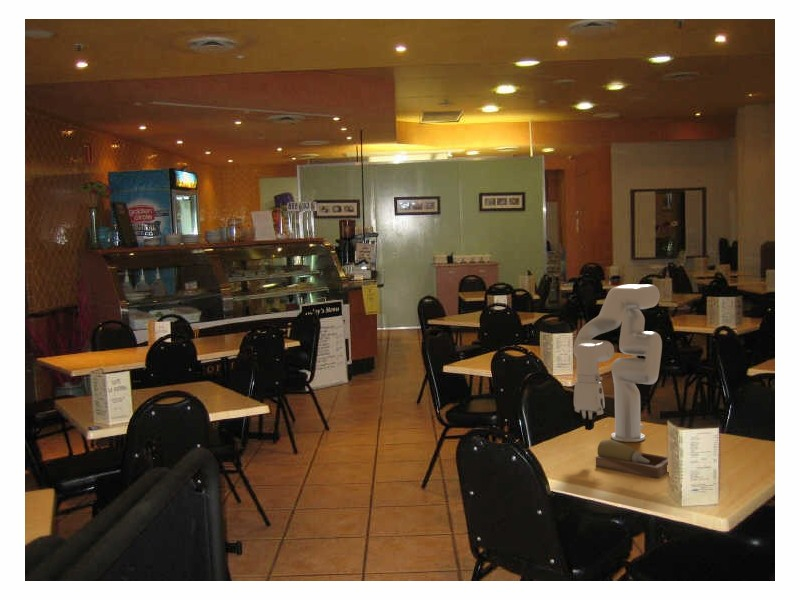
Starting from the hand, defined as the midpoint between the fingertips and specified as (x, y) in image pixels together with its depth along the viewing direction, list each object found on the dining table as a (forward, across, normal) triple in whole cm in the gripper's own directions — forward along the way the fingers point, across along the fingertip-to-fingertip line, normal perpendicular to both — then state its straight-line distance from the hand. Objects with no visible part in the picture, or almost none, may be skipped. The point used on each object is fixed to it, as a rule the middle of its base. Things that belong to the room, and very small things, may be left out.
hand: (589, 429), depth 267 cm
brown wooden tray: (+11, -17, +1) cm, 20 cm away
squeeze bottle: (+6, -5, +1) cm, 8 cm away
